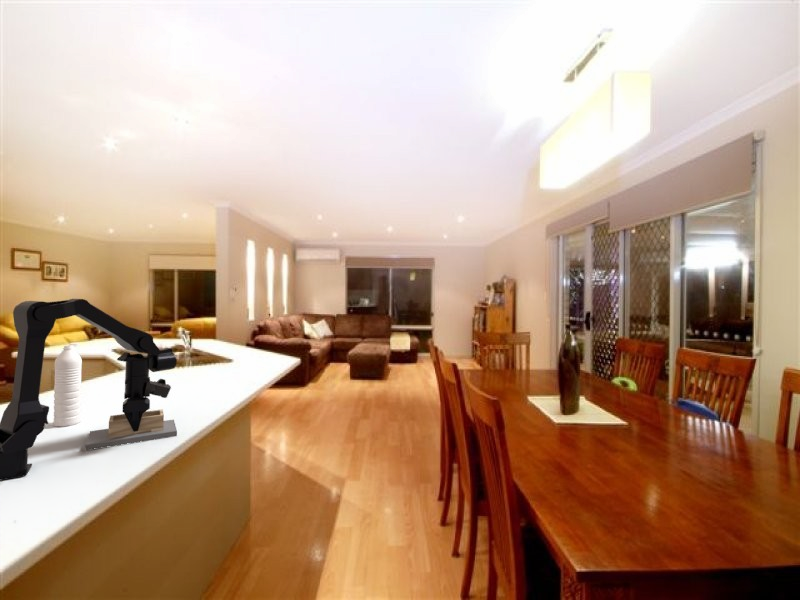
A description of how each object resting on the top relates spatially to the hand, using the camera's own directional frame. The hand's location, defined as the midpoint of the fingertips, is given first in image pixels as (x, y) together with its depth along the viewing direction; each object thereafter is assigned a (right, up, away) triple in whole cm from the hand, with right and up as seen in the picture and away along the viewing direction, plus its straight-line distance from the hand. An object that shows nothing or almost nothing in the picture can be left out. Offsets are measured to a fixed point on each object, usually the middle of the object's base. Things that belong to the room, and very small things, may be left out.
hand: (135, 427), depth 112 cm
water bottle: (-28, -2, +10) cm, 30 cm away
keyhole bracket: (0, -1, 0) cm, 1 cm away
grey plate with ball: (-1, -2, 0) cm, 2 cm away
